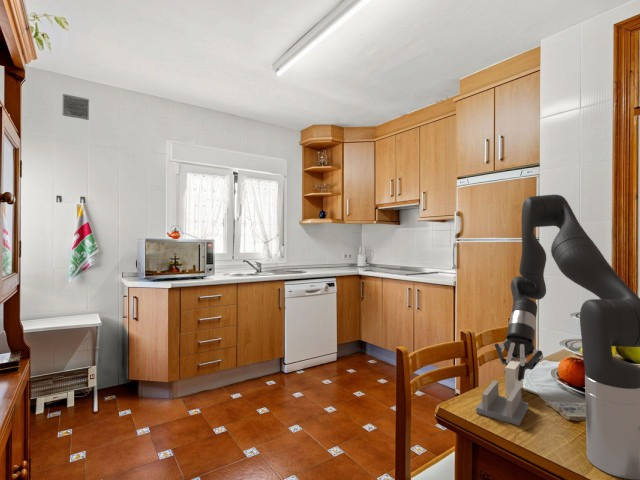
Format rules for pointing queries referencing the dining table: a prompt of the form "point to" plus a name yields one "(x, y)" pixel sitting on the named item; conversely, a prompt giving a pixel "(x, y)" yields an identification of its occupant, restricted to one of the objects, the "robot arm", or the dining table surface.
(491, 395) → the grey twin-fin stand
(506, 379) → the cream rectangular slab
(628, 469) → the robot arm
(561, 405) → the ceramic fragment
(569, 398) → the dining table surface
